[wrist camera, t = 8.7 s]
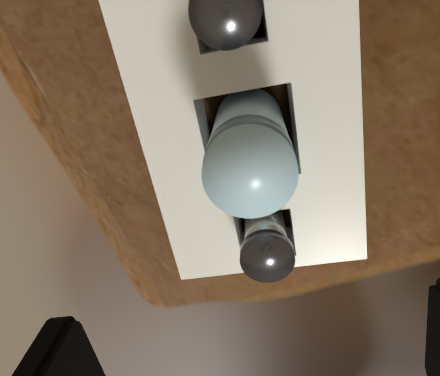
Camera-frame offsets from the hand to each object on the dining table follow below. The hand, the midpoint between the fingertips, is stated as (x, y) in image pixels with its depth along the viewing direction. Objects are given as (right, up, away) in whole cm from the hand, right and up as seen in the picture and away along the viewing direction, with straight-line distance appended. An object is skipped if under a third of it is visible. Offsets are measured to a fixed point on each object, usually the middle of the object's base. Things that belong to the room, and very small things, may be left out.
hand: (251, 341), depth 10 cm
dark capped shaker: (+3, +2, +20) cm, 21 cm away
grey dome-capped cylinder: (0, +15, +14) cm, 21 cm away
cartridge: (+1, +9, +18) cm, 20 cm away
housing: (+1, +9, +18) cm, 20 cm away
